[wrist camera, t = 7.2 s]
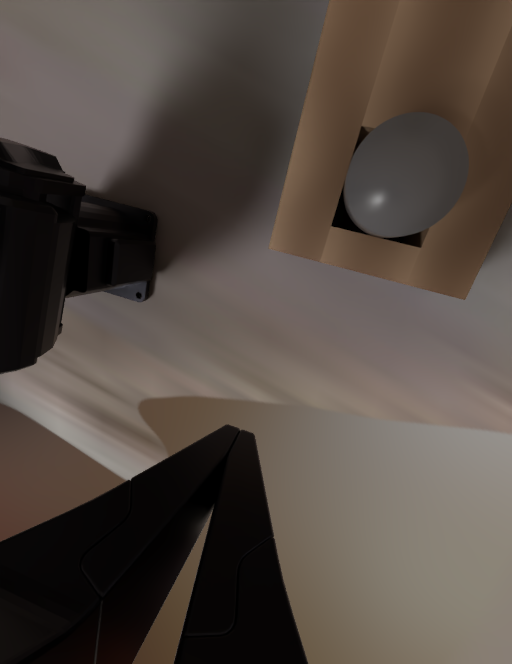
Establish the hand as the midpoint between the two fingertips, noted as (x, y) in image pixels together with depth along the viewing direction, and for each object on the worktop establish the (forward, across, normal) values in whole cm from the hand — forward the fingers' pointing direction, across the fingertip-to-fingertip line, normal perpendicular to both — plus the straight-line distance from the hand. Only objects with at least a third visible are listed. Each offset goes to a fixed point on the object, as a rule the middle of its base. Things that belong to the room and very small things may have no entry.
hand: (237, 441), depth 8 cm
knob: (+13, -3, -9) cm, 16 cm away
